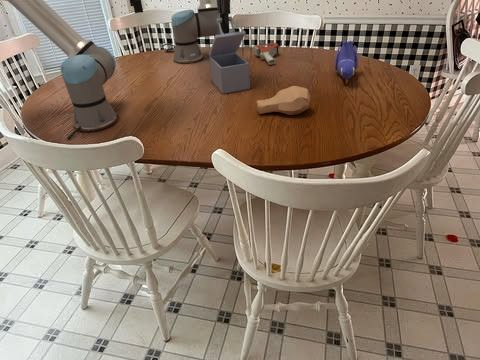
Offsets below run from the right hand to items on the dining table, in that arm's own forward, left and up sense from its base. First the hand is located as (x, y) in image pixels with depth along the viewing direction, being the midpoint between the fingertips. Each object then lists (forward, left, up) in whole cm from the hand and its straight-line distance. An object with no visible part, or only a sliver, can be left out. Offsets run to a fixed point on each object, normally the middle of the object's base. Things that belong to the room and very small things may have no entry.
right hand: (225, 31), depth 145 cm
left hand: (+3, -35, +14) cm, 38 cm away
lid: (0, 0, -6) cm, 6 cm away
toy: (+27, +44, -22) cm, 56 cm away
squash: (+38, +2, -22) cm, 44 cm away
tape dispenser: (-18, +32, -22) cm, 43 cm away
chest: (+2, 0, -22) cm, 22 cm away
